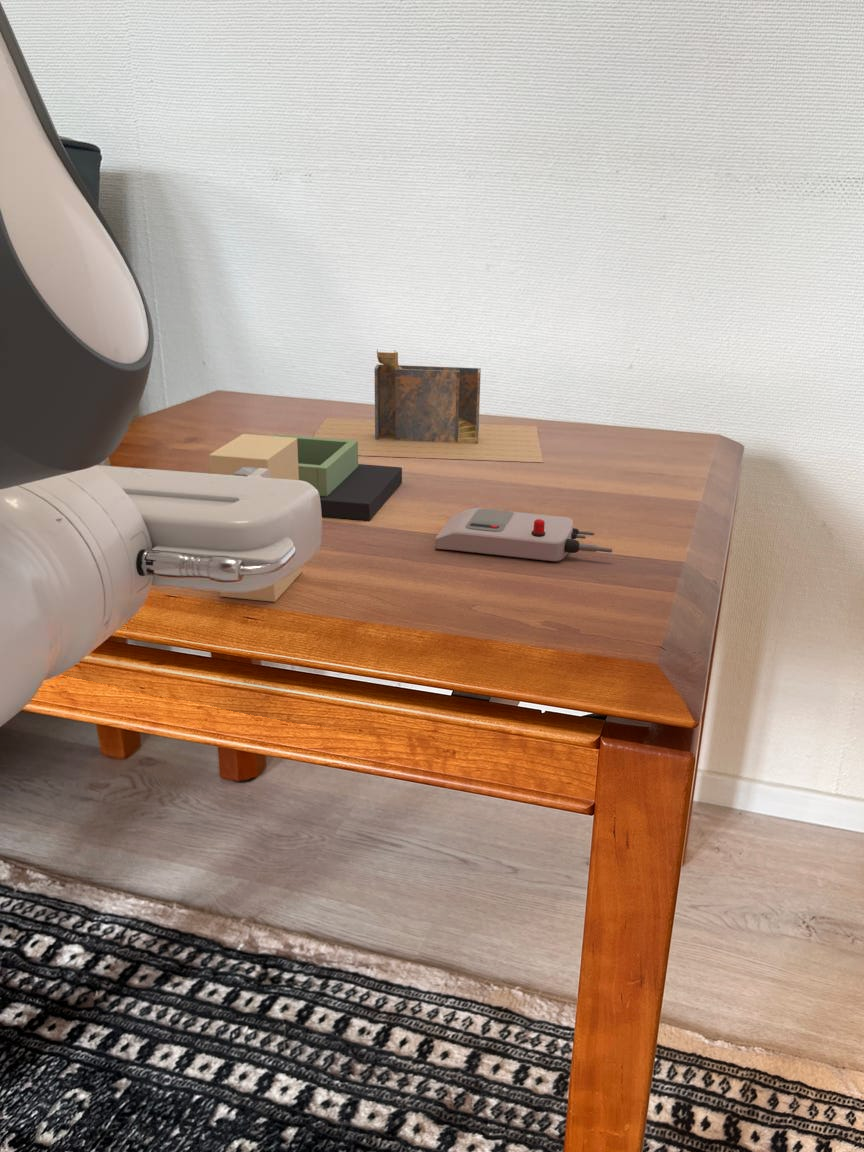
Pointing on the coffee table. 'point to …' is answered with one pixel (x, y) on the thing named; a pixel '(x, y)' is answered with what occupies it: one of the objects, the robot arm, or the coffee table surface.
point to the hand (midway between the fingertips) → (178, 475)
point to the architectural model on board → (431, 418)
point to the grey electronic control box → (513, 535)
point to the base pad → (344, 477)
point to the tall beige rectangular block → (282, 465)
